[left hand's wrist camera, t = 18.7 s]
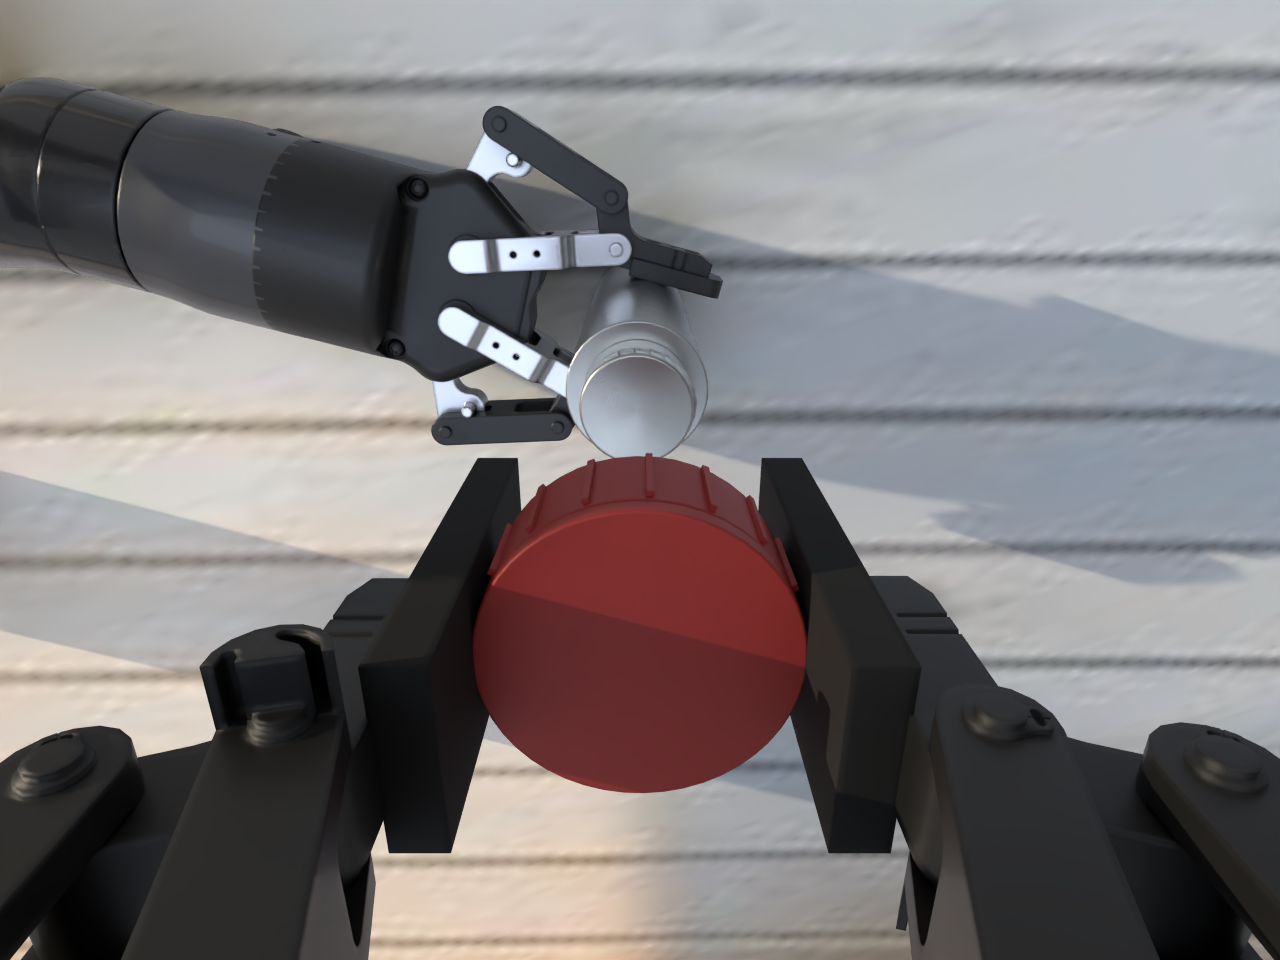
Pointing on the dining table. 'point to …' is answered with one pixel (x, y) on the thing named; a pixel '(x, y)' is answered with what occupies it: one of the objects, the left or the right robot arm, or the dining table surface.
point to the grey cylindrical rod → (636, 369)
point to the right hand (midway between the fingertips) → (699, 343)
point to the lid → (639, 627)
